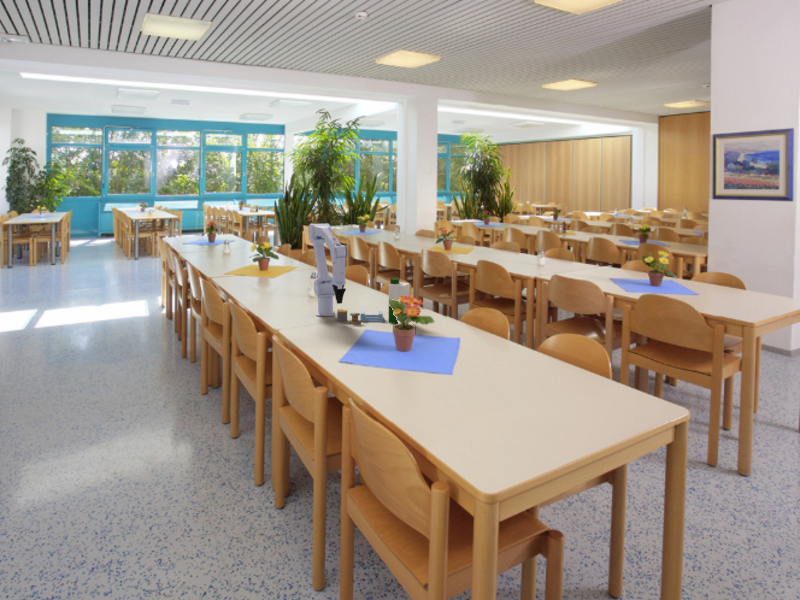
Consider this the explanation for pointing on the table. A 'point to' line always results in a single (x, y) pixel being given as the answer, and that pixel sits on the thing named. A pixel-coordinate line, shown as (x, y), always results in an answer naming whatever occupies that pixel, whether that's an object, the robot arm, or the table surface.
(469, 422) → the table surface
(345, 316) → the orange and grey block
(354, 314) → the bobbin
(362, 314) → the blue square socket
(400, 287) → the soya milk
